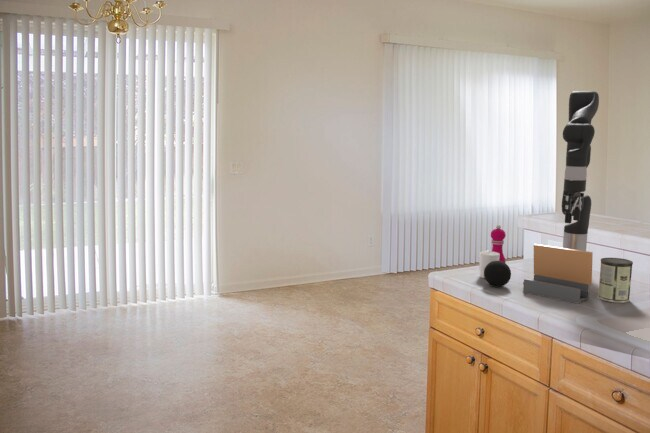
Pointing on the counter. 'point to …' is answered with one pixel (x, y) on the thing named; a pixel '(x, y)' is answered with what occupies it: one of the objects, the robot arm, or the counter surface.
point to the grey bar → (582, 293)
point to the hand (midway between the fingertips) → (572, 221)
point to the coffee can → (615, 280)
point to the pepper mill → (498, 241)
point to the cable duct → (555, 288)
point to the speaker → (497, 273)
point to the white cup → (487, 260)
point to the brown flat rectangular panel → (563, 263)
